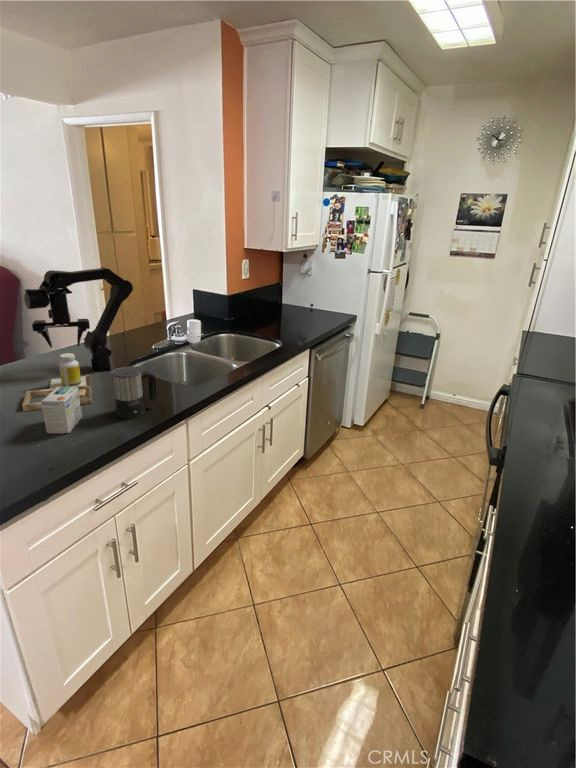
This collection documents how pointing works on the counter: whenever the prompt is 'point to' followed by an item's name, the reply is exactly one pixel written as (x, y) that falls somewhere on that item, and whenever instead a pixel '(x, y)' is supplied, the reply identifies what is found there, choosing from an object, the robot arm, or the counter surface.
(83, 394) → the offcut stack
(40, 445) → the counter surface
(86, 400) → the birch rack
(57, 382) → the pale grey mat
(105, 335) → the robot arm
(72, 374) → the pill bottle
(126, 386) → the milk frother
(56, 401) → the light bulb box
